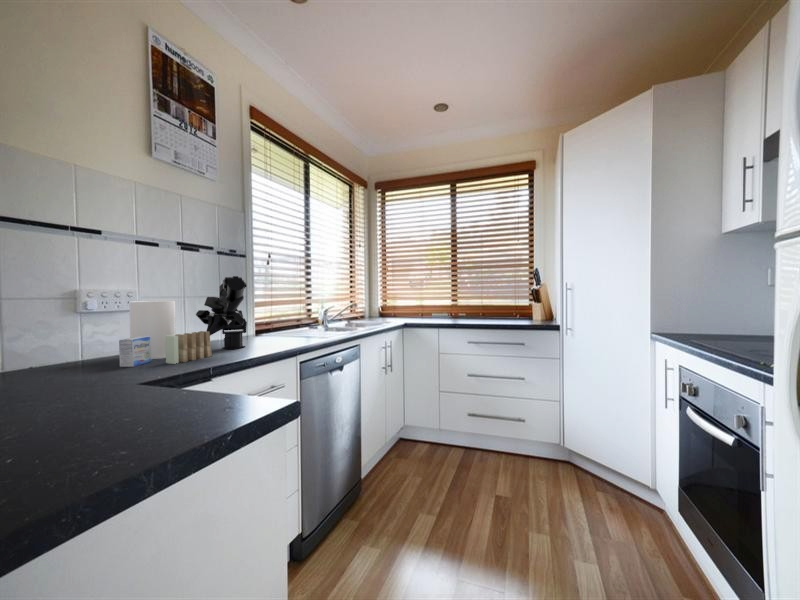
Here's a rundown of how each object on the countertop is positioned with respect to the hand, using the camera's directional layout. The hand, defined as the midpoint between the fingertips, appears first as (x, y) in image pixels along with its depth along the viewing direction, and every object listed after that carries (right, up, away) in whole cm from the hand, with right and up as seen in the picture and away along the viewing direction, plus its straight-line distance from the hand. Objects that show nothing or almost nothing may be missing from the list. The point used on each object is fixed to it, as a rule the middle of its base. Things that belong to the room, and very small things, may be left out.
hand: (207, 335), depth 129 cm
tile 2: (-2, -8, -3) cm, 8 cm away
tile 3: (-3, -8, -6) cm, 10 cm away
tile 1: (0, -8, 0) cm, 8 cm away
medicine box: (-16, -8, -14) cm, 22 cm away
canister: (-20, -8, +1) cm, 21 cm away
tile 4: (-4, -8, -9) cm, 12 cm away
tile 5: (-5, -8, -12) cm, 15 cm away
